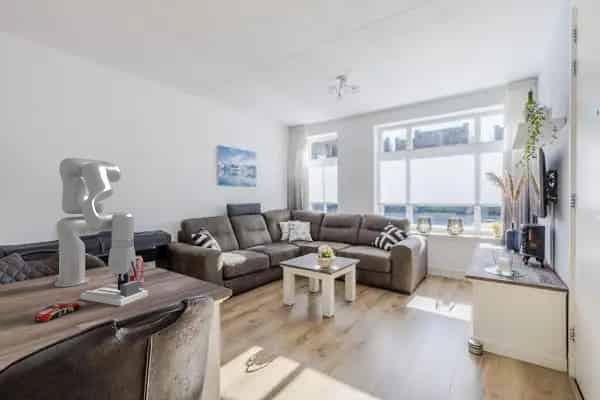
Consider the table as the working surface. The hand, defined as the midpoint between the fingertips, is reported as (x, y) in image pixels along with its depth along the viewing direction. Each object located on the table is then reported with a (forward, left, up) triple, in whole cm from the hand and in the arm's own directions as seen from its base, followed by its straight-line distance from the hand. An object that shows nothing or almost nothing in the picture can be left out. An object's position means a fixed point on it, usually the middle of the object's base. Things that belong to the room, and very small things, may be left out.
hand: (122, 289), depth 112 cm
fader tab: (+4, 0, -1) cm, 4 cm away
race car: (-7, -19, -4) cm, 20 cm away
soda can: (-11, +15, -4) cm, 19 cm away
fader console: (-4, 0, -4) cm, 6 cm away
